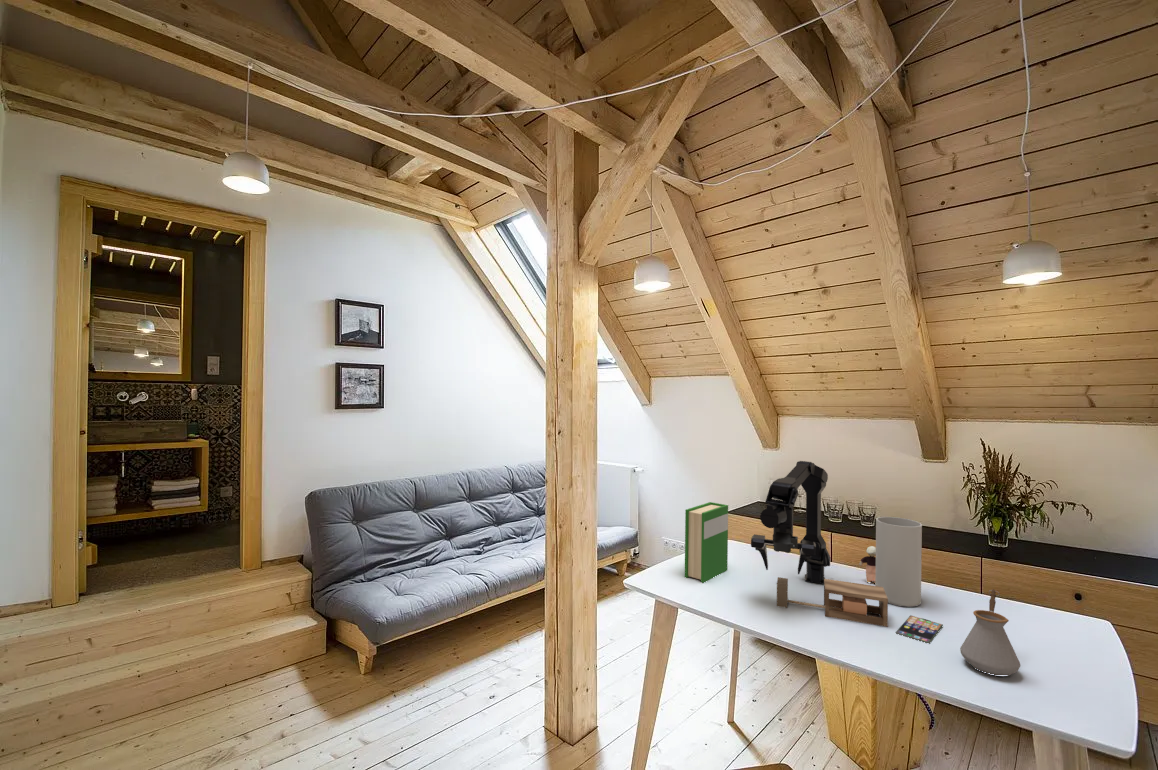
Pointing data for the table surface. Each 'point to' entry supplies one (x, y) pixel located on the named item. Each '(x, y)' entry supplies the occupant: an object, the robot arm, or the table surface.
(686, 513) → the hardback book
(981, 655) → the coffee pot
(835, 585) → the shelf lane
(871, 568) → the grandmother figurine
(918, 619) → the smartphone
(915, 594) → the cylinder vase
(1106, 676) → the table surface
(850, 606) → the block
